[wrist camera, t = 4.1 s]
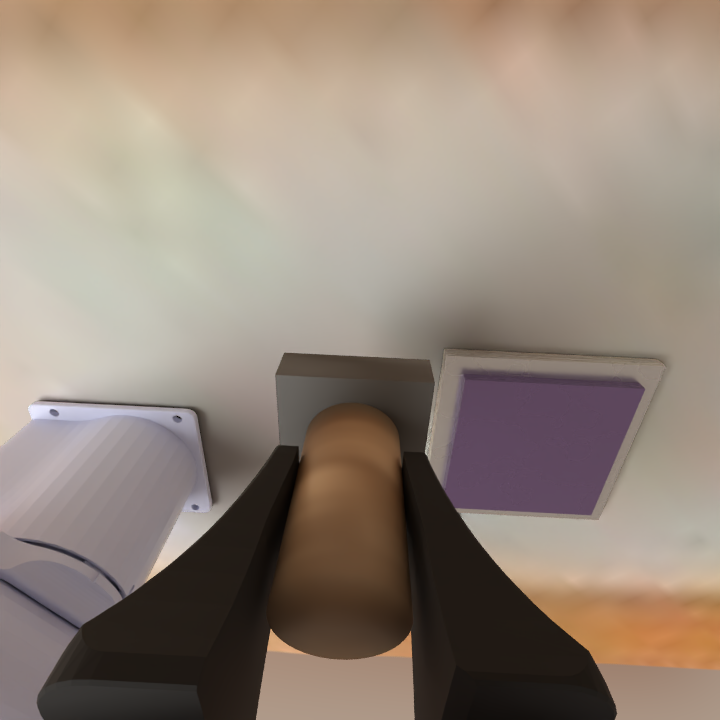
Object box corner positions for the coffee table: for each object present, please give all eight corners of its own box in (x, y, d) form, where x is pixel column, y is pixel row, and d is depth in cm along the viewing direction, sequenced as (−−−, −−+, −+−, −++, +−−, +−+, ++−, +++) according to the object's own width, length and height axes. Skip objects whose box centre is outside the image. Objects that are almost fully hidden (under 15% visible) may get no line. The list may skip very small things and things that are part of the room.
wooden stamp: (290, 462, 17) (236, 673, 11) (284, 352, 15) (210, 535, 8) (414, 469, 17) (439, 684, 10) (429, 360, 15) (473, 550, 8)
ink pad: (421, 500, 27) (423, 518, 26) (444, 348, 22) (448, 361, 21) (592, 509, 27) (602, 527, 26) (656, 359, 22) (673, 372, 21)
